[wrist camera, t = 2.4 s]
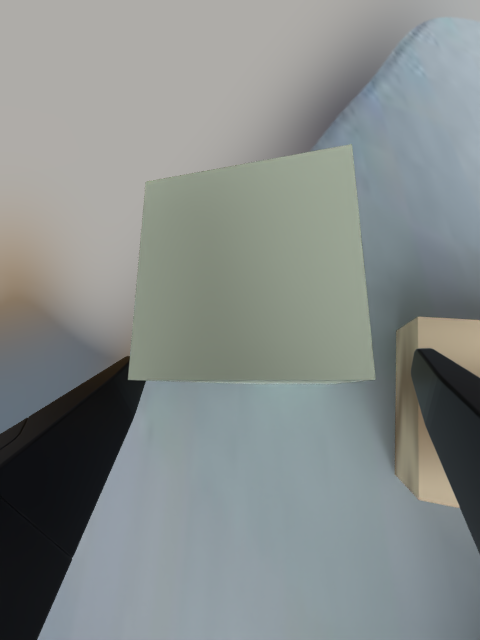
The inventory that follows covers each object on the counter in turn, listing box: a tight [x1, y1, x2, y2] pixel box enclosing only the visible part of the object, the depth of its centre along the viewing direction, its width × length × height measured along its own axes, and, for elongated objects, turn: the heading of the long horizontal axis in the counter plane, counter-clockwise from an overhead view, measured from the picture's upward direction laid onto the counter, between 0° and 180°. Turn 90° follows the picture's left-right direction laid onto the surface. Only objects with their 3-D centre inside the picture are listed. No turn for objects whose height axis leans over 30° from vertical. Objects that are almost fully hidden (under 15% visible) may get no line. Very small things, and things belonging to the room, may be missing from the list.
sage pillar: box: [128, 144, 376, 384], centre depth 12 cm, size 5×5×13 cm
